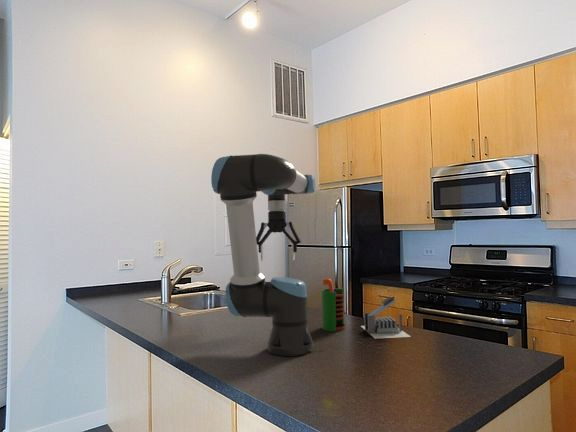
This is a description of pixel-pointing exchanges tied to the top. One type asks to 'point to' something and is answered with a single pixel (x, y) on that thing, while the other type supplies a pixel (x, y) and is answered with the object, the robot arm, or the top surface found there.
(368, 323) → the mount
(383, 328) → the heatsink
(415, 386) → the top surface
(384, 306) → the grey-blue slender bar
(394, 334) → the board
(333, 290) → the motor
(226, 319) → the top surface
